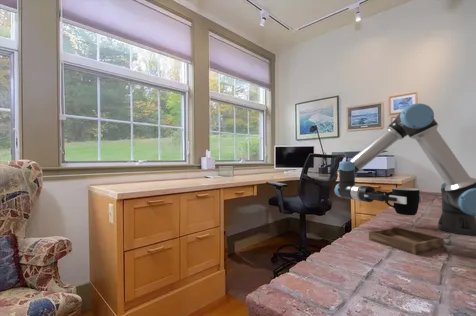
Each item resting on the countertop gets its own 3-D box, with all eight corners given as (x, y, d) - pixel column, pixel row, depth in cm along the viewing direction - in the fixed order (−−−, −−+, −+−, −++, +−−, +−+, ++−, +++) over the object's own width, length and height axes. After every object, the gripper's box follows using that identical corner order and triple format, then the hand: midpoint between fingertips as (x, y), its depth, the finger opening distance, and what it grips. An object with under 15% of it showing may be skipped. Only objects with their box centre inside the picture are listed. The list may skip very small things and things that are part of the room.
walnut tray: (396, 234, 106) (396, 226, 106) (443, 247, 89) (443, 238, 89) (369, 239, 98) (368, 231, 99) (415, 254, 82) (415, 244, 82)
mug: (422, 214, 93) (421, 188, 94) (416, 217, 87) (416, 190, 88) (388, 209, 102) (387, 186, 103) (381, 212, 97) (380, 188, 97)
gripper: (378, 199, 116) (430, 207, 95) (347, 202, 108) (396, 211, 87) (378, 184, 116) (430, 189, 95) (346, 186, 108) (395, 191, 87)
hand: (413, 200), depth 91 cm, fingers closed on mug, 9 cm apart
